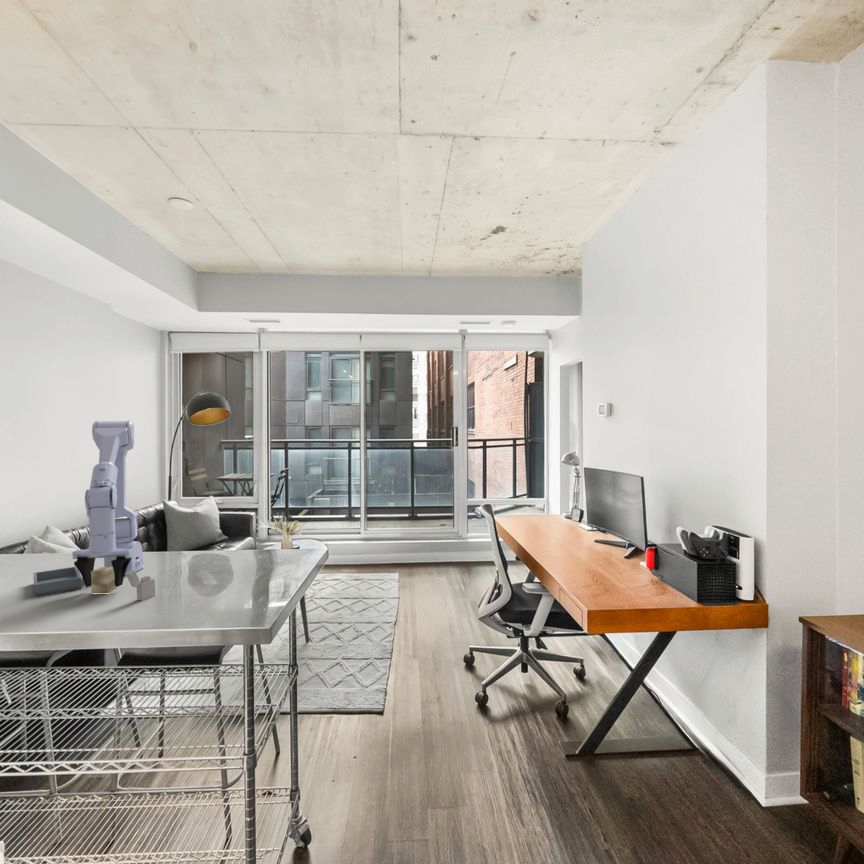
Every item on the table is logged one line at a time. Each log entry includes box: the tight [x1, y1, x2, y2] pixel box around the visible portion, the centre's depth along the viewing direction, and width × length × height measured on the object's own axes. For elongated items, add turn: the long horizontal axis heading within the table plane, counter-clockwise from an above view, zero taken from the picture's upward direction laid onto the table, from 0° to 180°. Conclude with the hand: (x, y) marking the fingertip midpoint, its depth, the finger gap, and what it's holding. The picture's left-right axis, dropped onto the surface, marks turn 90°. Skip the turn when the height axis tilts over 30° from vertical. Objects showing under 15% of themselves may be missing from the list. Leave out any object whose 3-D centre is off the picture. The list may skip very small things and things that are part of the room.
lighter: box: [124, 570, 156, 601], centre depth 133 cm, size 7×2×8 cm, turn 160°
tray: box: [33, 566, 83, 598], centre depth 145 cm, size 10×14×3 cm
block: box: [90, 566, 118, 594], centre depth 140 cm, size 4×4×6 cm
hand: (104, 585), depth 140 cm, fingers open, 7 cm apart
